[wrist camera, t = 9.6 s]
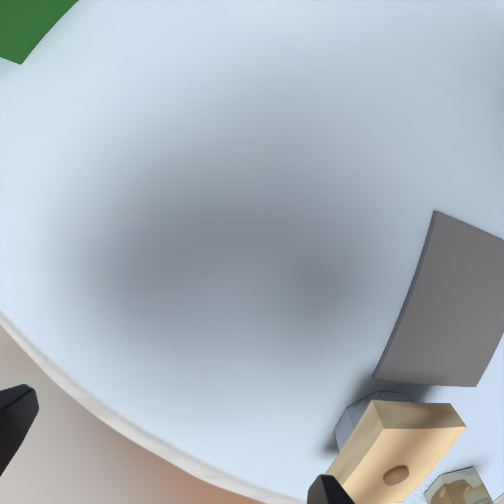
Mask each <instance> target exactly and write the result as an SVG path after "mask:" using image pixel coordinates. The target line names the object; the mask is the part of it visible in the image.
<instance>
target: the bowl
mask: <svg viewBox="0 0 504 504" xmlns="http://www.w3.org/2000/svg"><path fill="white" fill-rule="evenodd" d="M371 400H382V401H395V402H411V400H410V399H409V397H408V395H407V394H406V393H395V392H384V391H378V392H376V393H374V394H372V395H370V396H368V397H366V398H365V399H363V400H361V401H359V402H357V403H355V404H353V405H351V406H349V407H348V408H347V409H346V410H345V412H344V414H343V416H342V418H341V419H340V421H339V423H338V425H337V426H336V428H335V430H334V432H335V437H336V441H337V445H338V450H339V453H340V451H341V450H342V448H343V447H344V445H345V443H346V442H347V440H348V439H349V437H350V436H351V434H352V432H353V431H354V429H355V427H356V426H357V424H358V423H359V421H360V419H361V417H362V416H363V414H364V412H365V411H366V409H367V407H368V405H369V403H370V402H371Z"/></svg>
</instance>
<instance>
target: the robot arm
mask: <svg viewBox="0 0 504 504" xmlns="http://www.w3.org/2000/svg"><path fill="white" fill-rule="evenodd" d="M38 411H39V404H38V400H37V396H36V391H35V390H34V389H33V388H32V387H30V386H28V385H26V384H22V385H18V386H15V387H12V388H8V389H5V390H1V391H0V476H1V475H2V473H3V472H4V470H5V469H6V467H7V465H8V464H9V462H10V461H11V459H12V458H13V456H14V455H15V453H16V452H17V450H18V449H19V447H20V445H21V444H22V442H23V440H24V438H25V436H26V434H27V432H28V430H29V428H30V427H31V425H32V423H33V421H34V419H35V417H36V415H37V413H38ZM307 504H355V502H354V501H353V500H352V499H351V497H350V496H349V495H348V494H347V492H346V491H345V490H344V489H343V487H342V486H341V485H340V483H339V482H338V481H337V480H336V478H335V477H334V476H333V475H325V474H321V475H319V476H318V477H317V478H316V480H315V481H314V482H313V484H312V485H311V486H310V488H309V490H308V497H307Z"/></svg>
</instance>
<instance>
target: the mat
mask: <svg viewBox="0 0 504 504" xmlns="http://www.w3.org/2000/svg"><path fill="white" fill-rule="evenodd" d="M503 333H504V241H503V240H501V239H499V238H496V237H494V236H492V235H490V234H488V233H486V232H484V231H481V230H479V229H477V228H475V227H472V226H470V225H468V224H466V223H463V222H461V221H459V220H456V219H454V218H451V217H449V216H447V215H444V214H442V213H439V212H436V211H434V213H433V217H432V220H431V224H430V228H429V231H428V235H427V238H426V241H425V245H424V248H423V251H422V254H421V258H420V261H419V264H418V267H417V270H416V273H415V276H414V278H413V281H412V284H411V287H410V290H409V292H408V295H407V298H406V300H405V303H404V306H403V308H402V311H401V313H400V316H399V318H398V321H397V323H396V325H395V328H394V330H393V332H392V335H391V337H390V339H389V342H388V344H387V346H386V348H385V350H384V353H383V355H382V357H381V359H380V361H379V363H378V365H377V367H376V369H375V372H374V374H373V377H374V379H376V380H384V381H393V382H403V383H414V384H426V385H441V386H461V387H476V386H477V384H478V382H479V380H480V379H481V377H482V375H483V373H484V371H485V370H486V368H487V366H488V364H489V362H490V360H491V358H492V356H493V354H494V352H495V350H496V348H497V346H498V344H499V342H500V339H501V337H502V335H503Z"/></svg>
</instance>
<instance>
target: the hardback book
mask: <svg viewBox="0 0 504 504" xmlns="http://www.w3.org/2000/svg"><path fill="white" fill-rule="evenodd" d="M77 1H78V0H0V57H2V58H4V59H7V60H10V61H13V62H15V63H18V64H22V63H23V62H24V60H25V59H26V58H27V56H28V55H29V54H30V53H31V51H32V50H33V49H34V48H35V46H36V45H37V44H38V43H39V42H40V40H41V39H42V38H43V37H44V36H45V35H46V33H47V32H48V31H49V30H50V29H51V28H52V27H53V26H54V25H55V23H56V22H57V21H58V20H59V19H60V18H61V17H62V16H63V15H64V14H65V13H66V12H67V11H68V10H69V9H70V8H71V7H72V6H73V5H74V4H75V3H76V2H77Z"/></svg>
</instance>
